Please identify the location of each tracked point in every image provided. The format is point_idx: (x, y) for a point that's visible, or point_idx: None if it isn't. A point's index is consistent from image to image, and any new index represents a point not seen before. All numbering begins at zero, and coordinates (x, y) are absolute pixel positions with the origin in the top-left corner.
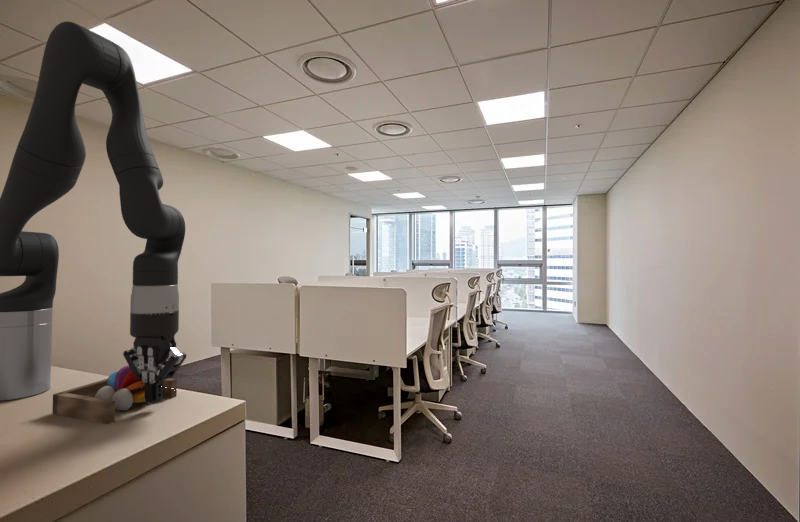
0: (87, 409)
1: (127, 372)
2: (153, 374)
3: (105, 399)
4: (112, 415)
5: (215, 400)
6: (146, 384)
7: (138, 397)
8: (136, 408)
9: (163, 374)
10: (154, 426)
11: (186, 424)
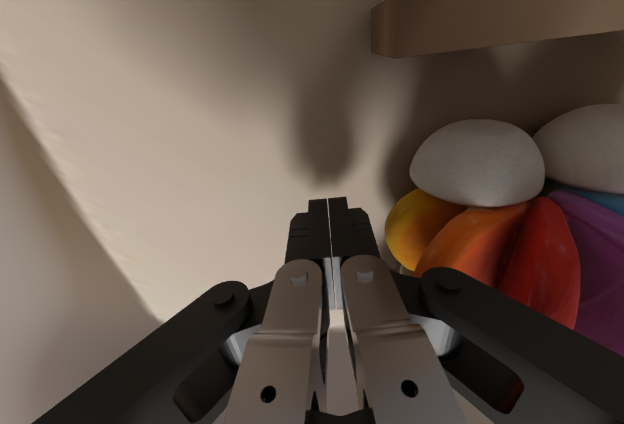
0: None
1: (618, 310)
2: (279, 316)
3: (493, 45)
4: (376, 38)
5: None
6: (347, 252)
7: (407, 207)
8: (410, 184)
9: (174, 331)
10: (157, 99)
11: (83, 164)
